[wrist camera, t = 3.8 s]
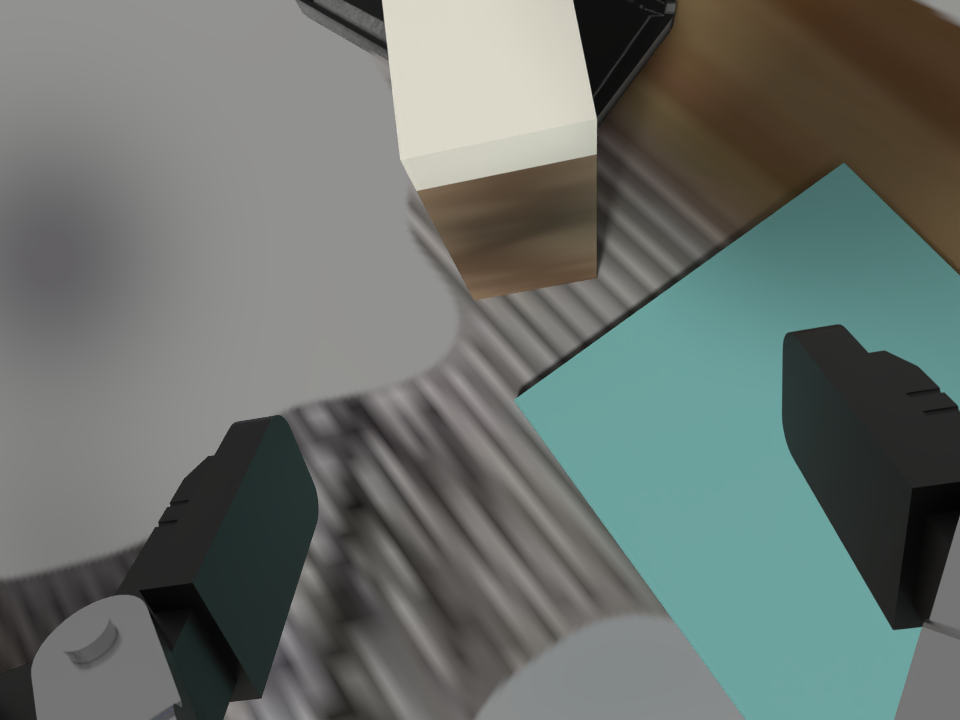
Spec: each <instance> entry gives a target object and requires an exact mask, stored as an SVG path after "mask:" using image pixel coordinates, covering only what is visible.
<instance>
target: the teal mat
mask: <svg viewBox="0 0 960 720" xmlns="http://www.w3.org/2000/svg"><path fill="white" fill-rule="evenodd" d="M836 324H841V325H843V326H844V327H845V328H846V329H847V330H848V331H849V332H850V333H851V334H852V335H853V336H854V338H855V339H856V340H857V341H858V342H859V343H860V344H861V345H862V346H863V347H864V348H865V349H866V351H867V352H868V353H870V352H877V351H883V350H885V351H887V352H889V353H891V354H894V355H896V356H898V357H900V358H902V359H904V360H906V361H908V362H910V363H912V364H915V365H917V366H918V367H919V368H920V369H922V370H923V371H924V372H925V373H926V374H927V375H928V376H929V377H930V378H931V379H932V380H933V381H934V382H935V383H936V384H937V385H938V386H939V387H940V391H941V393H942V392H945V393H946V394H947V395H948V396H949V397H950V398H951V399H952V400H953V401H954V402H955V403H956V404H957V405H958V409H959V411H960V275H959V274H958V273H957V272H956V271H955V270H954V269H953V268H952V267H951V266H949V265H948V264H947V263H946V262H945V261H944V260H943V259H942V258H941V257H940V256H939V255H938V254H937V253H936V252H935V251H934V250H933V249H932V248H931V247H930V246H929V245H928V244H927V243H926V242H925V241H924V240H923V239H922V238H921V237H920V236H919V235H918V234H917V233H916V232H915V231H914V230H913V229H912V228H911V227H910V226H909V225H907V224H906V223H905V222H904V221H903V220H902V219H901V218H900V217H899V216H898V215H897V214H896V213H895V212H894V211H893V210H892V209H891V208H890V207H889V206H888V205H887V204H886V203H885V202H884V201H883V200H882V199H881V198H880V197H879V196H878V195H877V194H876V193H875V192H874V191H873V190H872V189H871V188H870V187H869V186H868V185H866V184H865V183H864V182H863V181H862V180H861V179H860V178H859V177H858V176H857V175H856V174H855V173H854V172H853V171H852V170H851V169H850V168H849V167H848V166H847V165H846V164H845V163H843V164H841V165H840V166H839V167H837V168H836V169H834V170H833V171H832V172H830V173H829V174H827V175H826V176H825V177H823V178H822V179H821V180H819V181H818V182H816V183H815V184H814V185H812V186H811V187H809V188H808V189H807V190H805V191H804V192H802V193H801V194H800V195H798V196H797V197H795V198H794V199H793V200H791V201H790V202H789V203H787V204H786V205H784V206H783V207H782V208H780V209H779V210H777V211H776V212H775V213H773V214H772V215H770V216H769V217H768V218H766V219H765V220H763V221H762V222H761V223H759V224H758V225H757V226H755V227H754V228H752V229H751V230H750V231H748V232H747V233H745V234H744V235H743V236H741V237H740V238H738V239H737V240H736V241H734V242H733V243H732V244H730V245H729V246H727V247H726V248H725V249H723V250H722V251H720V252H719V253H718V254H716V255H715V256H713V257H712V258H711V259H709V260H708V261H706V262H705V263H704V264H702V265H701V266H700V267H698V268H697V269H695V270H694V271H693V272H691V273H690V274H688V275H687V276H686V277H684V278H683V279H681V280H680V281H679V282H677V283H676V284H674V285H673V286H672V287H670V288H669V289H668V290H666V291H665V292H663V293H662V294H661V295H659V296H658V297H656V298H655V299H654V300H652V301H651V302H649V303H648V304H647V305H645V306H644V307H643V308H641V309H640V310H638V311H637V312H636V313H634V314H633V315H631V316H630V317H629V318H627V319H626V320H624V321H623V322H622V323H620V324H619V325H617V326H616V327H615V328H613V329H612V330H611V331H609V332H608V333H606V334H605V335H604V336H602V337H601V338H599V339H598V340H597V341H595V342H594V343H592V344H591V345H590V346H588V347H587V348H585V349H584V350H583V351H581V352H580V353H579V354H577V355H576V356H574V357H573V358H572V359H570V360H569V361H567V362H566V363H565V364H563V365H562V366H560V367H559V368H558V369H556V370H555V371H554V372H552V373H551V374H549V375H548V376H547V377H545V378H544V379H542V380H541V381H540V382H538V383H537V384H535V385H534V386H533V387H531V388H530V389H528V390H527V391H526V392H524V393H523V394H522V395H520V396H519V397H517V398H516V399H515V400H514V401H515V403H516V404H517V405H518V407H519V408H520V410H521V411H522V412H523V414H524V415H525V416H526V418H527V419H528V421H529V422H530V423H531V425H532V426H533V427H534V429H535V430H536V432H537V433H538V434H539V436H540V437H541V438H542V440H543V441H544V443H545V444H546V445H547V447H548V448H549V450H550V451H551V452H552V454H553V455H554V456H555V458H556V459H557V461H558V462H559V463H560V465H561V466H562V467H563V469H564V470H565V472H566V473H567V474H568V476H569V477H570V478H571V480H572V481H573V483H574V484H575V485H576V487H577V488H578V490H579V491H580V492H581V494H582V495H583V496H584V498H585V499H586V501H587V502H588V503H589V505H590V506H591V507H592V509H593V510H594V512H595V513H596V514H597V516H598V517H599V518H600V520H601V521H602V523H603V524H604V525H605V527H606V528H607V530H608V531H609V532H610V534H611V535H612V536H613V538H614V539H615V541H616V542H617V543H618V545H619V546H620V547H621V549H622V550H623V552H624V553H625V554H626V556H627V557H628V559H629V560H630V561H631V563H632V564H633V565H634V567H635V568H636V570H637V571H638V572H639V574H640V575H641V576H642V578H643V579H644V581H645V582H646V583H647V585H648V586H649V587H650V589H651V590H652V592H653V593H654V594H655V596H656V597H657V599H658V600H659V601H660V603H661V604H662V605H663V607H664V608H665V610H666V611H667V612H668V614H669V615H670V616H671V618H672V619H673V621H674V622H675V623H676V625H677V626H678V627H679V629H680V630H681V632H682V633H683V634H684V636H685V637H686V639H687V640H688V641H689V643H690V644H691V645H692V647H693V648H694V649H695V651H696V652H697V654H698V655H699V656H700V658H701V659H702V660H703V662H704V663H705V664H706V666H707V667H708V669H709V670H710V672H711V673H712V674H713V675H714V677H715V678H716V680H717V681H718V683H719V684H720V685H721V687H722V688H723V690H724V691H725V692H726V694H727V695H728V696H729V698H730V699H731V701H732V702H733V703H734V704H735V706H736V707H737V709H738V710H739V712H740V713H741V714H742V716H743V717H744V718H745V720H894V718H895V715H896V711H897V708H898V705H899V701H900V698H901V695H902V691H903V688H904V685H905V681H906V678H907V675H908V671H909V668H910V665H911V661H912V658H913V655H914V651H915V648H916V645H917V641H918V638H919V635H920V632H921V629H922V627H919V628H910V629H901V630H892V628H891V626H890V624H889V623H888V621H887V619H886V618H885V616H884V614H883V612H882V611H881V609H880V607H879V605H878V604H877V602H876V600H875V599H874V597H873V595H872V593H871V592H870V590H869V588H868V587H867V585H866V583H865V581H864V580H863V578H862V576H861V574H860V573H859V571H858V569H857V568H856V566H855V564H854V562H853V561H852V559H851V557H850V556H849V554H848V552H847V550H846V549H845V547H844V545H843V543H842V542H841V540H840V538H839V537H838V535H837V533H836V531H835V530H834V528H833V526H832V525H831V523H830V521H829V519H828V518H827V516H826V514H825V512H824V511H823V509H822V507H821V506H820V504H819V502H818V500H817V499H816V497H815V495H814V494H813V492H812V490H811V488H810V487H809V485H808V483H807V481H806V480H805V478H804V476H803V475H802V473H801V471H800V469H799V468H798V466H797V464H796V463H795V461H794V459H793V457H792V455H791V453H790V451H789V449H788V446H787V443H786V439H785V435H784V430H783V424H782V359H783V340H784V337H785V335H786V334H787V333H788V332H793V331H799V330H805V329H811V328H817V327H824V326H830V325H836Z"/></svg>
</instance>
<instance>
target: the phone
mask: <svg viewBox="0 0 960 720" xmlns="http://www.w3.org/2000/svg"><path fill="white" fill-rule="evenodd" d="M296 2H297V4H298V5H299V7H300V9H301V11H302V13H304V14H305V15H306V16H307V17H308V18H310V19H312V20H313V21H315V22H317V23H318V24H320V25H322V26H324V27H325V28H327V29H329V30H331V31H332V32H334V33H336V34H337V35H339V36H341V37H343V38H344V39H346V40H348V41H349V42H352V43H353V44H355V45H356V46H358V47H360V48H361V49H363V50H365V51H367V52H368V53H370V54H371V51H370V50H372V51H373V52H375V53H377V54H378V55H380V56H382V57H384V58H385V59H387V60H389V57H388V48H387V39H386V31H385V22H384V13H383V5H382V0H296ZM573 3H574V8H575V13H576V18H577V23H578V28H579V33H580V38H581V43H582V48H583V53H584V58H585V63H586V67H587V72H588V77H589V82H590V87H591V92H592V97H593V102H594V107H595V112H596V117H597V128H598V127H599V125H600V124H601V123H602V121H603V120H604V119H605V117H606V116H607V115H608V113H609V112H610V111H611V109H612V108H613V107H614V105H615V104H616V103H617V101H618V100H619V99H620V97H621V96H622V95H623V93H624V92H625V91H626V89H627V88H628V87H629V85H630V84H631V83H632V81H633V80H634V79H635V77H636V76H637V75H638V74H639V72H640V71H641V70H642V68H643V67H644V66H645V64H646V63H647V62H648V60H649V59H650V58H651V56H652V55H653V54H654V52H655V51H656V50H657V48H658V47H659V46H660V44H661V43H662V42H663V40H664V39H665V38H666V36H667V35H668V34H669V32H670V30H671V28H672V26H673V21H674V15H675V8H676V1H675V0H573Z"/></svg>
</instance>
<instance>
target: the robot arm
mask: <svg viewBox="0 0 960 720" xmlns="http://www.w3.org/2000/svg"><path fill="white" fill-rule="evenodd" d="M782 424H783V430H784V435H785V439H786V443H787V446H788V449H789V451H790V453H791V455H792V457H793V459H794V461H795V463H796V464H797V466H798V468H799V469H800V471H801V473H802V475H803V476H804V478H805V480H806V481H807V483H808V485H809V487H810V488H811V490H812V492H813V494H814V495H815V497H816V499H817V500H818V502H819V504H820V506H821V507H822V509H823V511H824V512H825V514H826V516H827V518H828V519H829V521H830V523H831V525H832V526H833V528H834V530H835V531H836V533H837V535H838V537H839V538H840V540H841V542H842V543H843V545H844V547H845V549H846V550H847V552H848V554H849V556H850V557H851V559H852V561H853V562H854V564H855V566H856V568H857V569H858V571H859V573H860V574H861V576H862V578H863V580H864V581H865V583H866V585H867V587H868V588H869V590H870V592H871V593H872V595H873V597H874V599H875V600H876V602H877V604H878V605H879V607H880V609H881V611H882V612H883V614H884V616H885V618H886V619H887V621H888V623H889V624H890V626H891V628H892V630H901V629H910V628H919V627H922V629H921V632H920V635H919V638H918V641H917V645H916V648H915V651H914V655H913V658H912V661H911V665H910V668H909V671H908V675H907V678H906V681H905V685H904V688H903V691H902V695H901V698H900V701H899V705H898V708H897V711H896V715H895V718H894V720H960V411H959V409H958V405H957V404H956V403H955V402H954V401H953V400H952V399H951V398H950V397H949V396H948V395H947V394H946V393H945V392H942V393H941V391H940V387H939V386H938V385H937V384H936V383H935V382H934V381H933V380H932V379H931V378H930V377H929V376H928V375H927V374H926V373H925V372H924V371H923V370H922V369H920V368H919V367H918V366H917V365H915V364H912V363H910V362H908V361H906V360H904V359H902V358H900V357H898V356H896V355H894V354H891V353H889V352H887V351H885V350H883V351H877V352H870V353H868V352H867V351H866V349H865V348H864V347H863V346H862V345H861V344H860V343H859V342H858V341H857V340H856V339H855V338H854V336H853V335H852V334H851V333H850V332H849V331H848V330H847V329H846V328H845V327H844V326H843V325H841V324H836V325H830V326H824V327H817V328H811V329H805V330H799V331H793V332H788V333H787V334H786V335H785V337H784V340H783V359H782ZM317 520H318V498H317V492H316V488H315V485H314V483H313V480H312V478H311V476H310V473H309V471H308V469H307V466H306V464H305V462H304V459H303V457H302V454H301V452H300V450H299V447H298V445H297V443H296V440H295V438H294V436H293V433H292V431H291V429H290V426H289V424H288V423H287V421H286V420H285V419H284V418H283V417H282V416H280V415H275V416H269V417H263V418H257V419H251V420H245V421H239V422H235V423H234V424H232V425H231V427H230V429H229V430H228V432H227V434H226V435H225V437H224V439H223V441H222V443H221V444H220V446H219V448H218V450H217V452H216V453H215V455H214V456H208V457H207V458H206V459H205V460H204V461H202V463H200V465H198V466H197V467H196V468H195V469H194V470H193V471H192V472H191V473H190V474H189V475H188V476H187V477H186V478H184V480H183V481H182V483H181V485H180V486H179V488H178V490H177V492H176V493H175V495H174V497H173V498H172V500H171V502H170V507H167V508H166V510H165V512H164V514H163V515H162V517H161V519H160V520H159V522H158V523H159V527H155V528H154V530H153V532H152V534H151V535H150V537H149V539H148V540H147V542H146V544H145V545H144V547H143V549H142V550H141V552H140V554H139V555H138V557H137V559H136V560H135V562H134V564H133V566H132V567H131V569H130V571H129V572H128V574H127V576H126V577H125V579H124V581H123V582H122V584H121V586H120V587H119V589H118V591H117V592H116V594H115V596H111V597H108V598H104V599H101V600H99V601H96V602H94V603H92V604H90V605H88V606H86V607H84V608H82V609H80V610H79V611H77V612H76V613H74V614H73V615H71V616H70V617H69V618H67V619H66V620H65V621H64V622H62V623H61V624H60V625H59V626H58V627H57V628H56V629H55V630H54V631H53V632H52V633H51V634H50V635H49V636H48V637H47V639H46V640H45V641H44V642H43V644H42V645H41V647H40V648H39V650H38V652H37V654H36V656H35V658H34V660H33V662H30V663H28V664H25V665H23V666H20V667H17V668H15V669H12V670H10V671H7V672H5V673H2V674H0V720H223V719H224V716H225V713H226V710H227V707H228V705H229V702H233V701H242V700H251V699H260V698H262V695H263V691H264V688H265V685H266V682H267V679H268V676H269V672H270V669H271V666H272V663H273V660H274V657H275V654H276V650H277V647H278V644H279V641H280V638H281V635H282V631H283V628H284V625H285V622H286V619H287V616H288V612H289V609H290V606H291V603H292V600H293V597H294V594H295V590H296V587H297V584H298V581H299V578H300V575H301V571H302V568H303V565H304V562H305V559H306V556H307V552H308V549H309V546H310V543H311V540H312V537H313V533H314V530H315V527H316V524H317Z"/></svg>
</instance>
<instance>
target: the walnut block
mask: <svg viewBox="0 0 960 720" xmlns="http://www.w3.org/2000/svg"><path fill="white" fill-rule="evenodd" d="M382 5H383V13H384V22H385V31H386V39H387V48H388V57H389V65H390V74H391V83H392V92H393V100H394V109H395V118H396V126H397V135H398V144H399V152H400V160H401V162H402V164H403V166H404V168H405V170H406V172H407V174H408V176H409V177H410V179H411V181H412V183H413V185H414V187H415V189H416V191H417V193H418V195H419V196H420V198H421V200H422V202H423V204H424V206H425V208H426V210H427V212H428V214H429V215H430V217H431V219H432V221H433V223H434V225H435V227H436V229H437V231H438V233H439V234H440V236H441V238H442V240H443V242H444V244H445V246H446V248H447V250H448V252H449V253H450V255H451V257H452V259H453V261H454V263H455V265H456V267H457V269H458V271H459V272H460V274H461V276H462V278H463V280H464V282H465V284H466V286H467V288H468V290H469V291H470V293H471V295H472V297H473V299H474V300H479V299H484V298H490V297H495V296H501V295H506V294H512V293H517V292H523V291H528V290H534V289H539V288H545V287H550V286H556V285H561V284H567V283H572V282H577V281H583V280H588V279H594V278H597V117H596V112H595V107H594V102H593V97H592V92H591V87H590V82H589V77H588V72H587V67H586V63H585V58H584V53H583V48H582V43H581V38H580V33H579V28H578V23H577V18H576V13H575V8H574V3H573V0H382Z"/></svg>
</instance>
